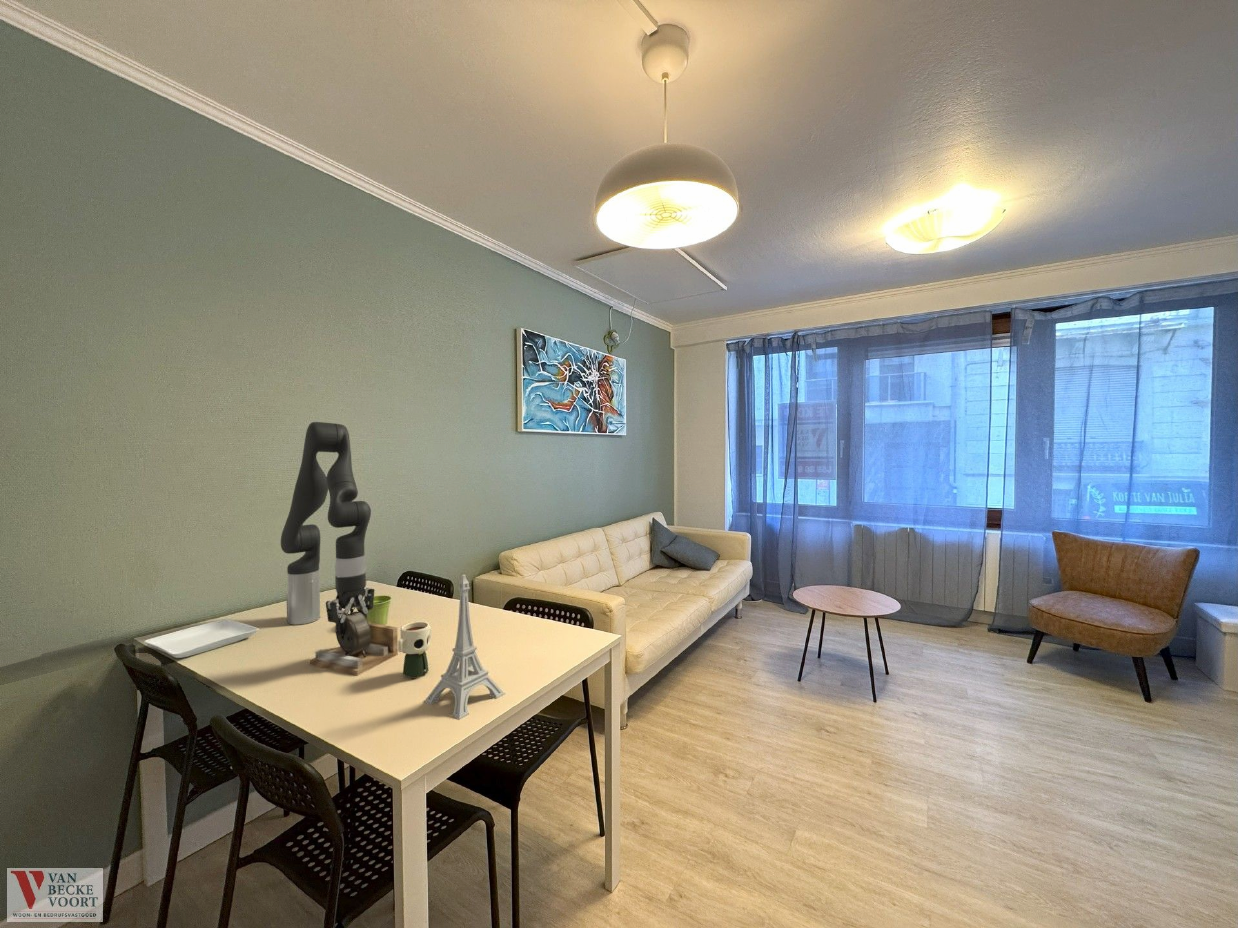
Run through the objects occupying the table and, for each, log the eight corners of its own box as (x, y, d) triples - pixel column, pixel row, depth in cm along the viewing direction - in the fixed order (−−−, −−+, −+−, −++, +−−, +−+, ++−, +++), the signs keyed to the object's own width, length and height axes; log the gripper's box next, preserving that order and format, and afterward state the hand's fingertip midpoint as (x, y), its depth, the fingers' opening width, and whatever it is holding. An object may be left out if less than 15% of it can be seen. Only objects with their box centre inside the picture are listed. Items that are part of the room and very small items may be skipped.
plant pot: (398, 620, 166) (397, 595, 166) (382, 630, 156) (381, 604, 156) (372, 619, 167) (372, 594, 166) (355, 629, 157) (354, 603, 157)
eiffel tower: (470, 679, 124) (468, 565, 123) (505, 694, 116) (504, 573, 115) (423, 701, 113) (422, 577, 112) (459, 720, 105) (457, 586, 104)
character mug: (409, 686, 120) (409, 635, 119) (389, 680, 123) (388, 631, 122) (441, 667, 130) (440, 621, 130) (421, 663, 133) (420, 617, 132)
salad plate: (142, 650, 142) (141, 639, 141) (227, 626, 160) (227, 616, 160) (174, 666, 132) (173, 653, 132) (260, 638, 151) (260, 628, 150)
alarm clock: (373, 656, 134) (371, 599, 134) (354, 663, 130) (352, 605, 129) (351, 647, 140) (349, 593, 139) (332, 655, 135) (330, 598, 135)
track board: (309, 664, 132) (309, 635, 132) (352, 645, 145) (351, 619, 144) (357, 675, 126) (356, 645, 125) (397, 654, 138) (397, 627, 138)
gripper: (362, 565, 142) (363, 620, 142) (317, 577, 128) (318, 638, 129) (381, 567, 139) (382, 623, 140) (337, 580, 126) (338, 642, 126)
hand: (351, 630), depth 134 cm, fingers open, 6 cm apart
